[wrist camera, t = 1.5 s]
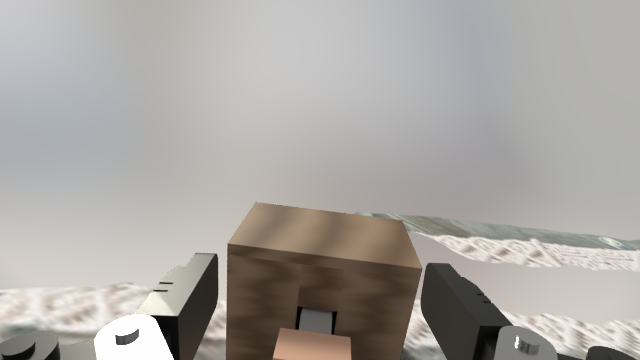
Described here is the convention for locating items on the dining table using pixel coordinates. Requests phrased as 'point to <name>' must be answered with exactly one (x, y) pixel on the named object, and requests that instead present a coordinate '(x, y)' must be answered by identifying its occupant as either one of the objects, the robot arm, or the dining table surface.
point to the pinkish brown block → (312, 339)
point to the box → (319, 279)
